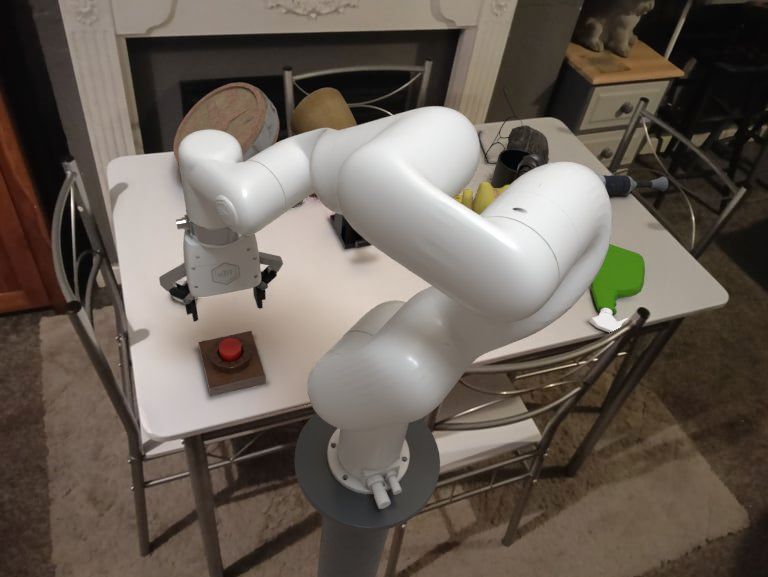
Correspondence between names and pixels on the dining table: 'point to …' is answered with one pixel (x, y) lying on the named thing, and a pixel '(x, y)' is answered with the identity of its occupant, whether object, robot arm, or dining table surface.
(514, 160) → the mug
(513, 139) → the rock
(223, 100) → the landmine
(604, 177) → the toy gun
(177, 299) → the egg
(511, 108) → the glasses
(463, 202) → the figurine
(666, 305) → the dining table surface
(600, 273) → the spray bottle
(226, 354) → the button
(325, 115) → the plant pot
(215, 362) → the button block
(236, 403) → the dining table surface
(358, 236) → the bracket
